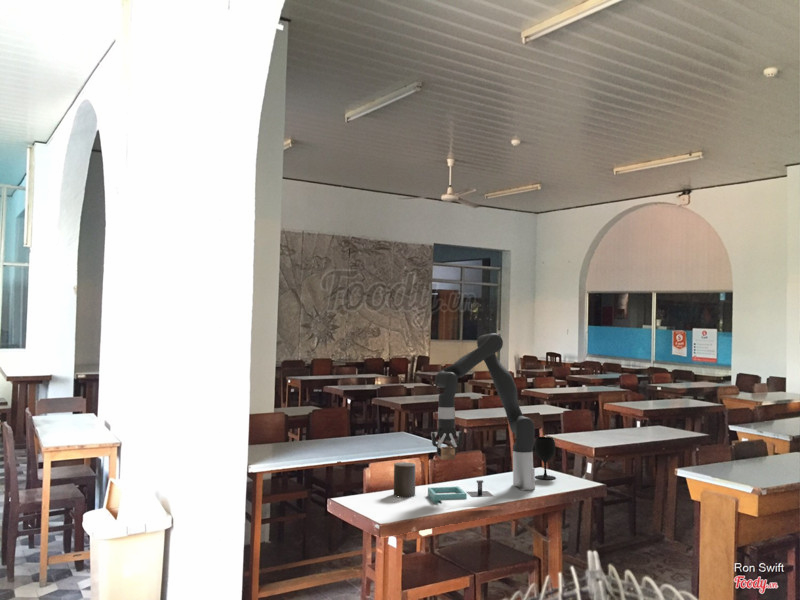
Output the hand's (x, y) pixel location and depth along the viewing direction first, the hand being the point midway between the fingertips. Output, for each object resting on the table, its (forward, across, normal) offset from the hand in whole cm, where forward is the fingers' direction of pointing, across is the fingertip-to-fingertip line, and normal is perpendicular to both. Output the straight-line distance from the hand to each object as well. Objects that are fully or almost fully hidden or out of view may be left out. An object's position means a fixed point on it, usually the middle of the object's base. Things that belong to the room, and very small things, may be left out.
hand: (446, 455), depth 280 cm
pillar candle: (+19, +17, -10) cm, 27 cm away
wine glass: (+19, -59, -34) cm, 71 cm away
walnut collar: (+1, 0, 0) cm, 1 cm away
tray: (+19, 0, 0) cm, 19 cm away
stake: (+18, -15, 0) cm, 24 cm away
